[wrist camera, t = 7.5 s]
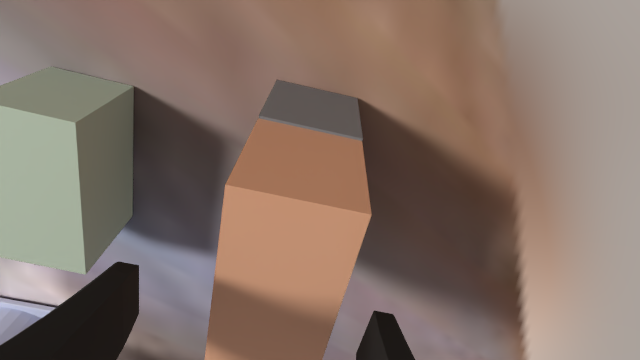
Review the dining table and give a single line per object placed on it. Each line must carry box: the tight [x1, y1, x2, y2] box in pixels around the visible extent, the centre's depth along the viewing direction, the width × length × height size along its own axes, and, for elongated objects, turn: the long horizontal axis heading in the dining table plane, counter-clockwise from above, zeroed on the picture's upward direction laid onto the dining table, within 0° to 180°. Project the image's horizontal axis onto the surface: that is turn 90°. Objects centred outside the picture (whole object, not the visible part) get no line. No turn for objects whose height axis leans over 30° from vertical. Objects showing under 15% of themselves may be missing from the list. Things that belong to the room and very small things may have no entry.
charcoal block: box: [259, 80, 363, 141], centre depth 19 cm, size 8×4×5 cm, turn 168°
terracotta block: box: [205, 118, 372, 360], centre depth 15 cm, size 8×4×5 cm, turn 168°
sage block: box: [0, 67, 134, 274], centre depth 19 cm, size 8×4×5 cm, turn 167°
